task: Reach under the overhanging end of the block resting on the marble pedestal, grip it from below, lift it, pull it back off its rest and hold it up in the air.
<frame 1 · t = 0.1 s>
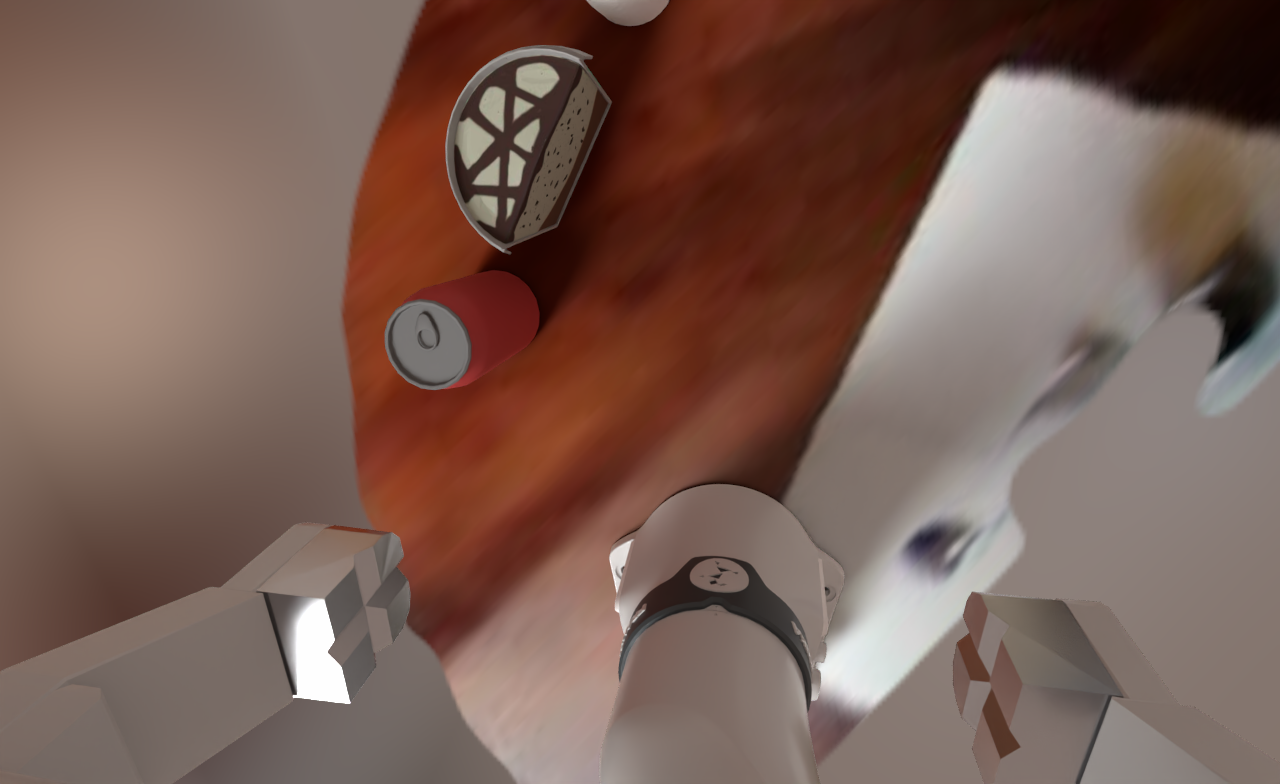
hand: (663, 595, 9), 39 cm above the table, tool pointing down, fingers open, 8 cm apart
half round cake: (546, 146, 46), on the table
beer can: (502, 311, 50), on the table
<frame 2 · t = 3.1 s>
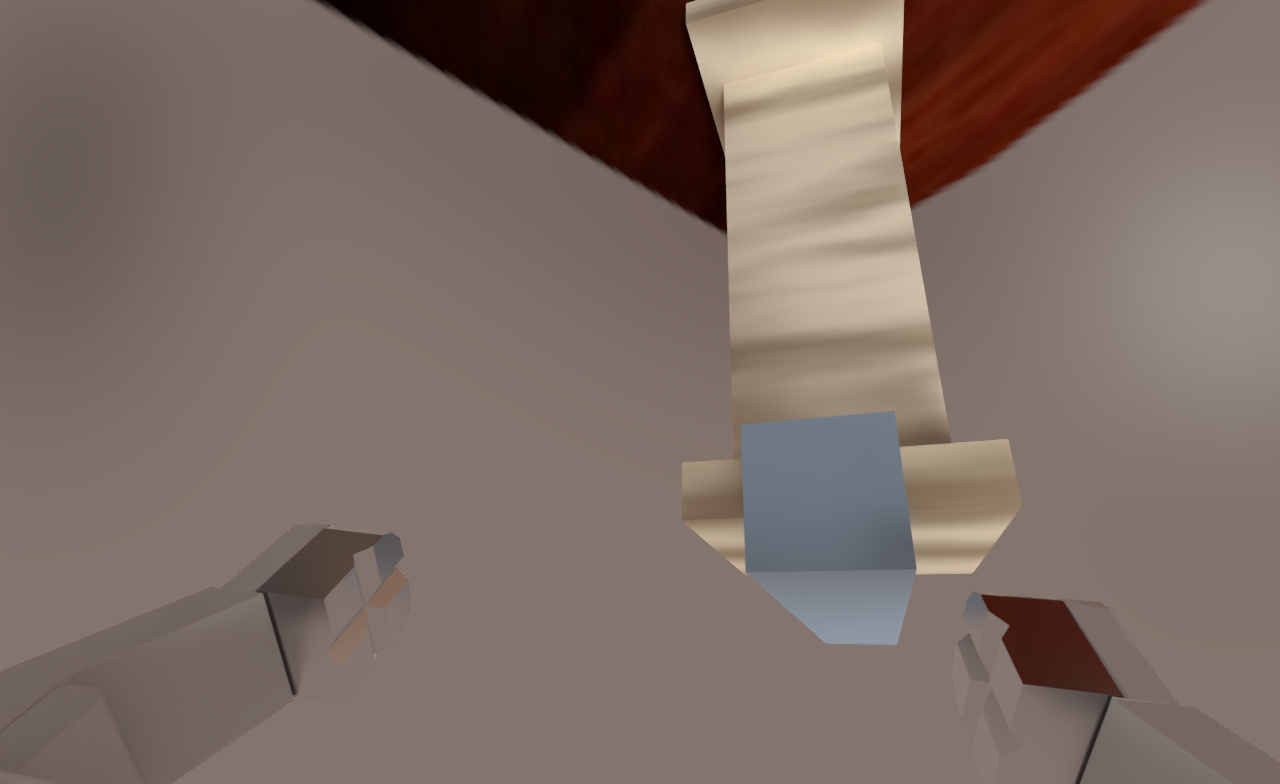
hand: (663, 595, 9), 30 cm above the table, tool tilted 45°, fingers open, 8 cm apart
block: (842, 527, 21), point 26 cm above the table, touching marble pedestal
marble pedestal: (801, 76, 36), on the table
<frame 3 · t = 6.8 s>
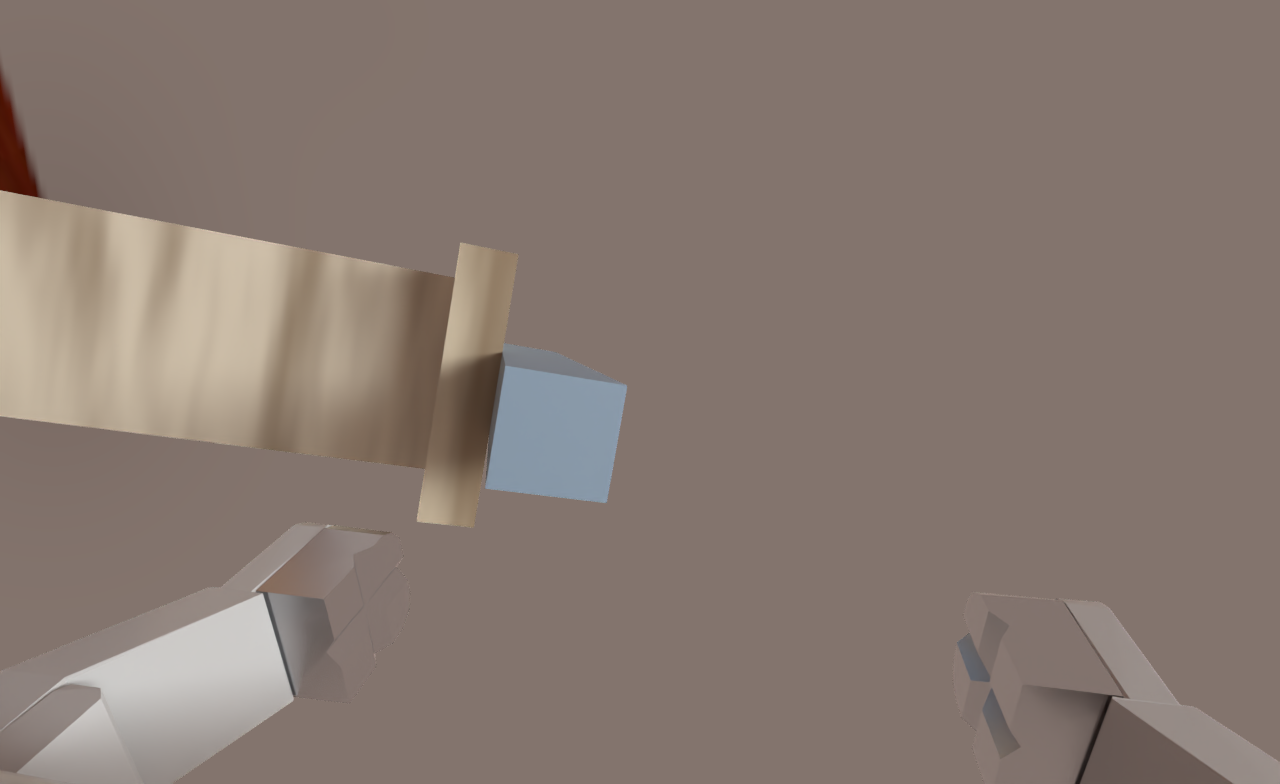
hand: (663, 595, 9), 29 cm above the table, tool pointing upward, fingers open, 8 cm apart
block: (495, 387, 25), point 26 cm above the table, touching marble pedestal
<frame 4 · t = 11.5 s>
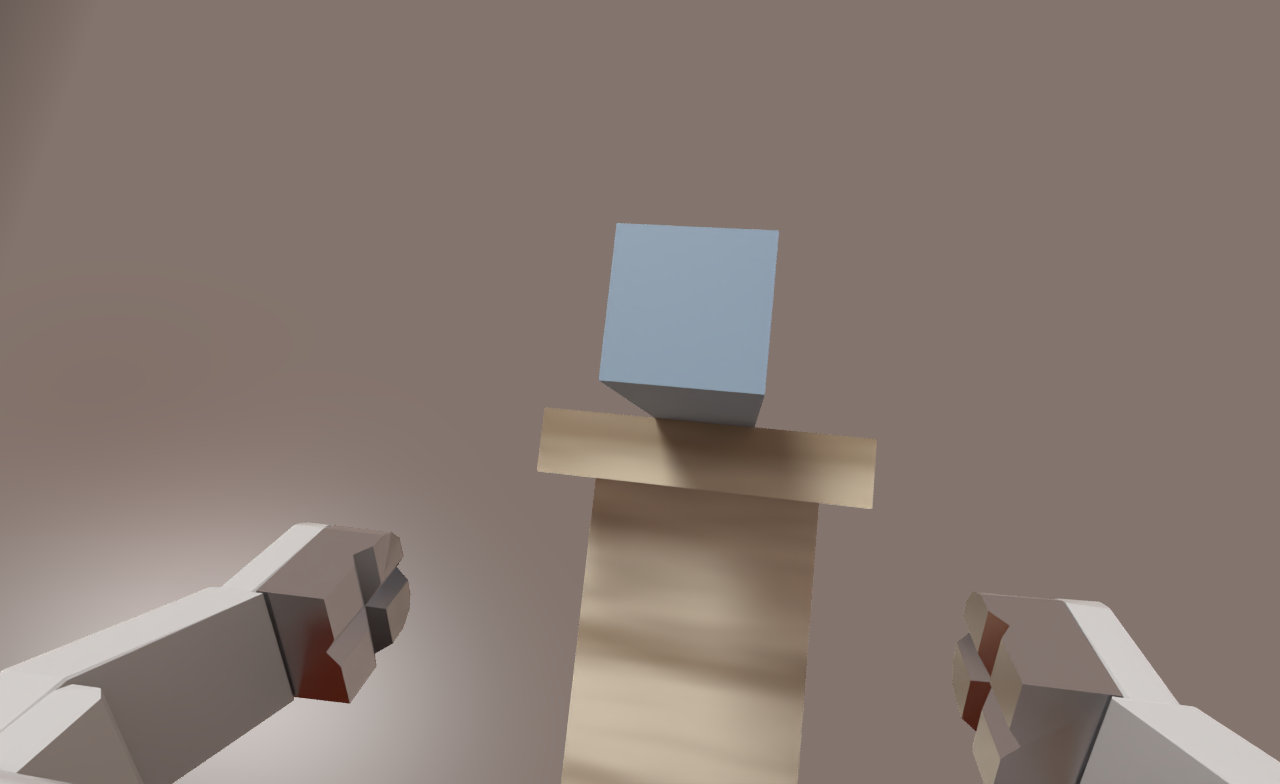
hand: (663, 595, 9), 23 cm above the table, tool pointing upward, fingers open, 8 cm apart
block: (707, 427, 21), point 26 cm above the table, touching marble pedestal
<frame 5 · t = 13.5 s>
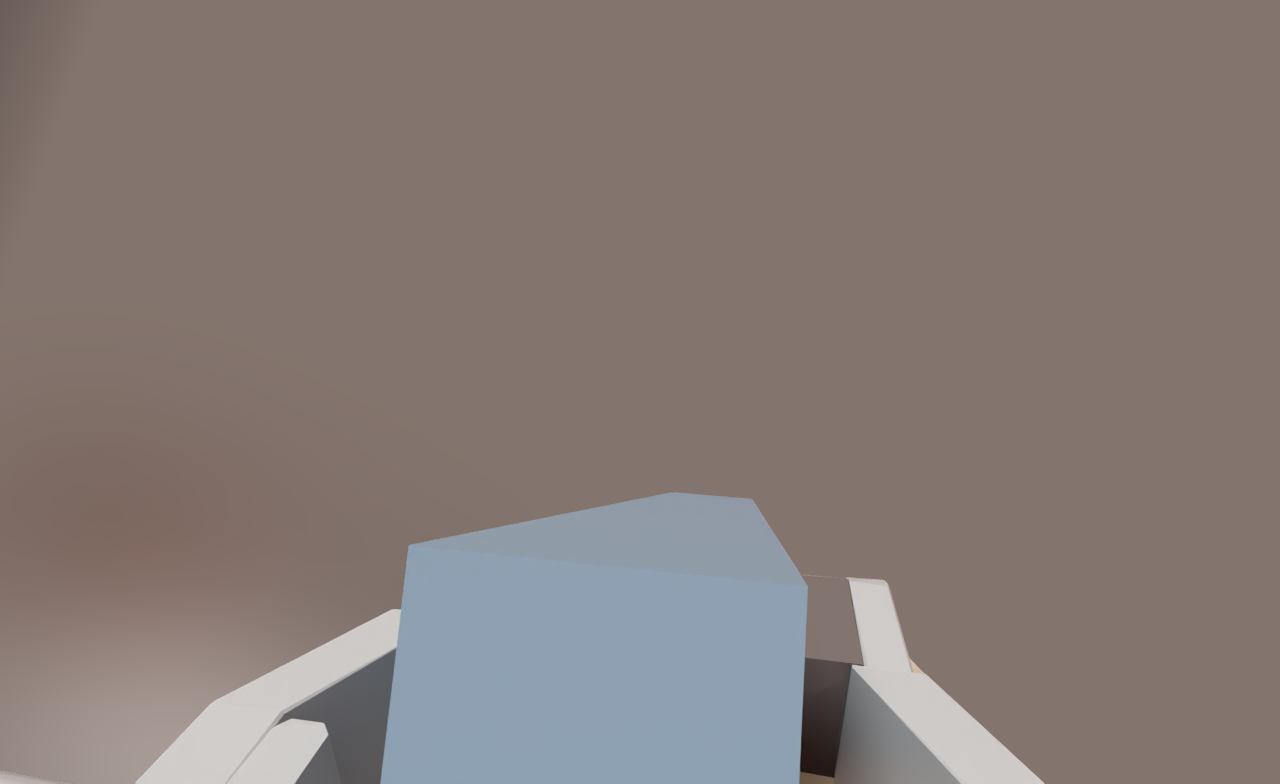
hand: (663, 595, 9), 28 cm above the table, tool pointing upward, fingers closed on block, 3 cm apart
block: (684, 644, 14), point 26 cm above the table, touching gripper, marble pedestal
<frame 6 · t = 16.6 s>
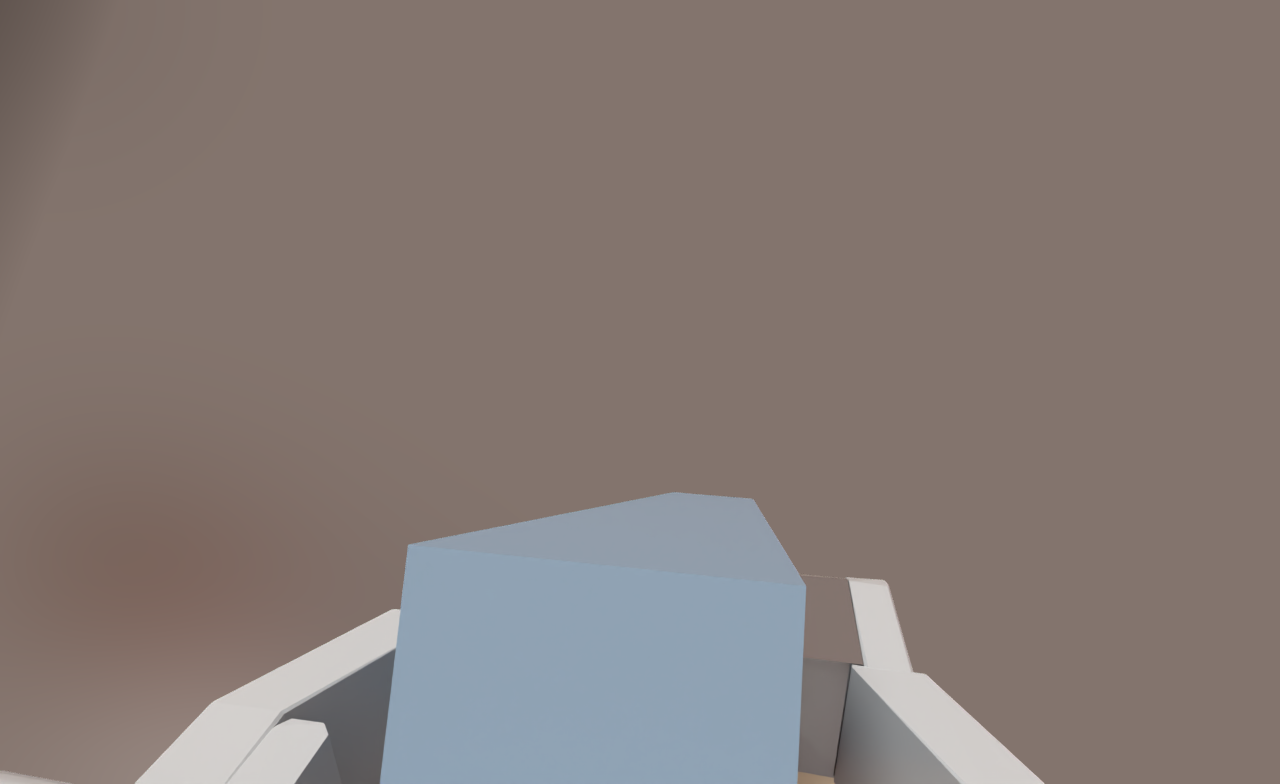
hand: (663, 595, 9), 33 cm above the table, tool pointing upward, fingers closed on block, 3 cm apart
block: (684, 644, 14), point 31 cm above the table, touching gripper
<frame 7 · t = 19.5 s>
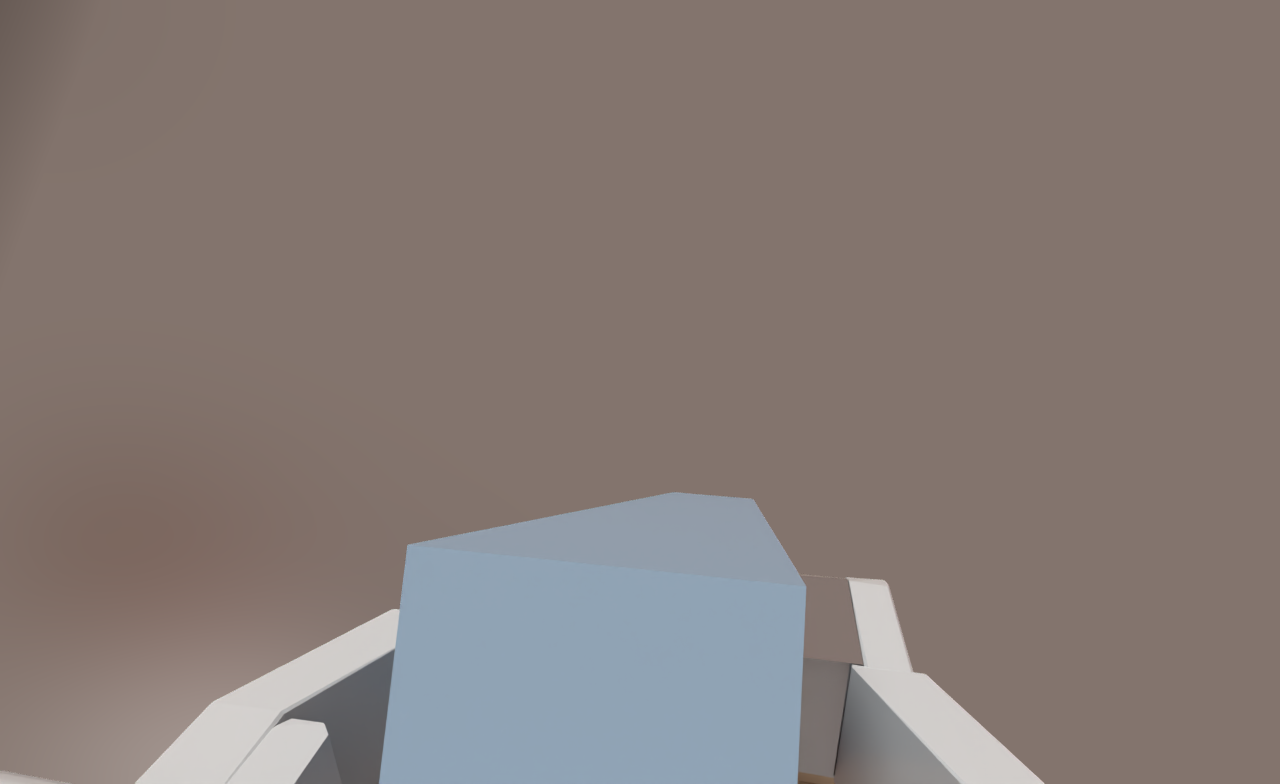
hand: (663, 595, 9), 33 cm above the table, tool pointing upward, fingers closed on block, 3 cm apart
block: (684, 644, 14), point 31 cm above the table, touching gripper
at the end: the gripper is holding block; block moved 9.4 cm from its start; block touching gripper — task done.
